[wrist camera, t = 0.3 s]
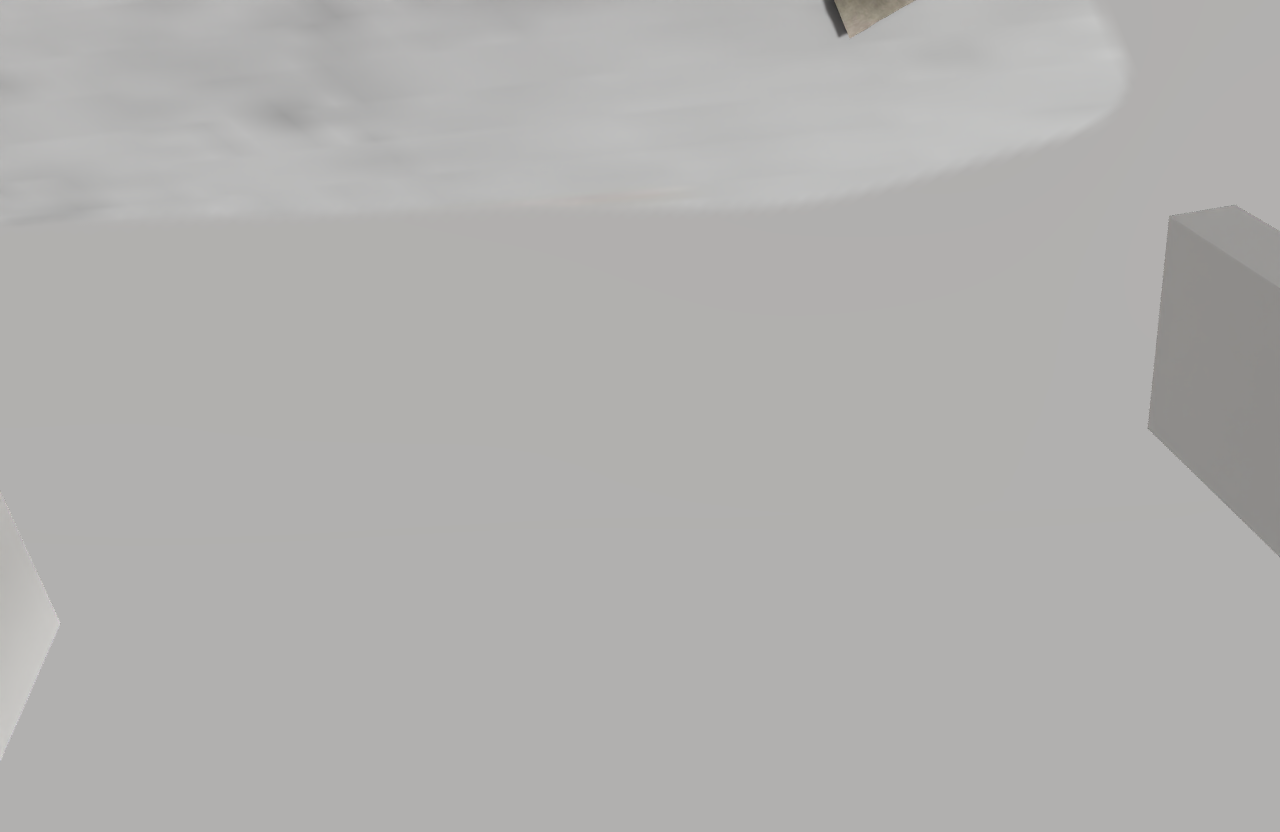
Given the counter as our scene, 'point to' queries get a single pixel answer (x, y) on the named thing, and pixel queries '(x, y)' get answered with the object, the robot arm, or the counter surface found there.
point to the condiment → (866, 12)
